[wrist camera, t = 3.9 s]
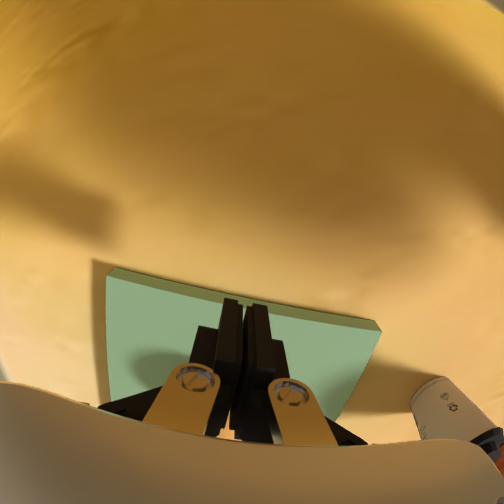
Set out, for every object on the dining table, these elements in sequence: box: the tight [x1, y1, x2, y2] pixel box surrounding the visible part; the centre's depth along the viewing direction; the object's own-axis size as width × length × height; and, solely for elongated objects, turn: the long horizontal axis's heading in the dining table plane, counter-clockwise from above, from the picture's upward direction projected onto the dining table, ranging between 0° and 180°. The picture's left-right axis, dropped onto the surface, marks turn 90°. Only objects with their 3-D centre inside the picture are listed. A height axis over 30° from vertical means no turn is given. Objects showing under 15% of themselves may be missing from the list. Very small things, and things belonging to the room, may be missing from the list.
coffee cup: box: [410, 377, 504, 463], centre depth 17 cm, size 7×7×10 cm
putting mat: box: [106, 268, 382, 422], centre depth 22 cm, size 28×18×2 cm, turn 167°
